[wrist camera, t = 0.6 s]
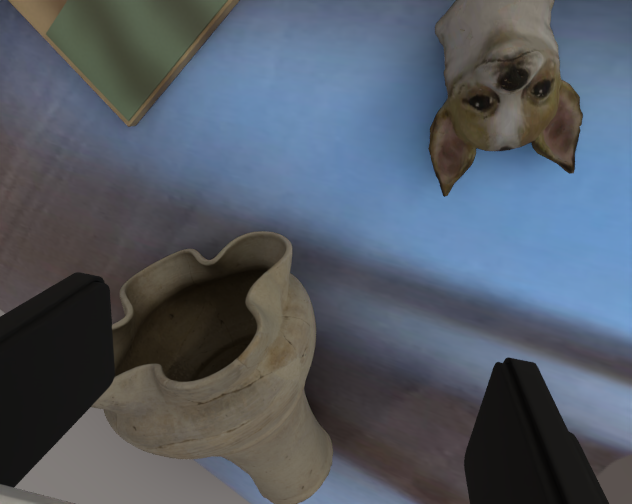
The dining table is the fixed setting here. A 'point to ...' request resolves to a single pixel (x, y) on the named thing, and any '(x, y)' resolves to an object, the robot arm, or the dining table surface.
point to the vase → (222, 365)
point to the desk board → (126, 43)
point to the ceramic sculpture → (501, 87)
